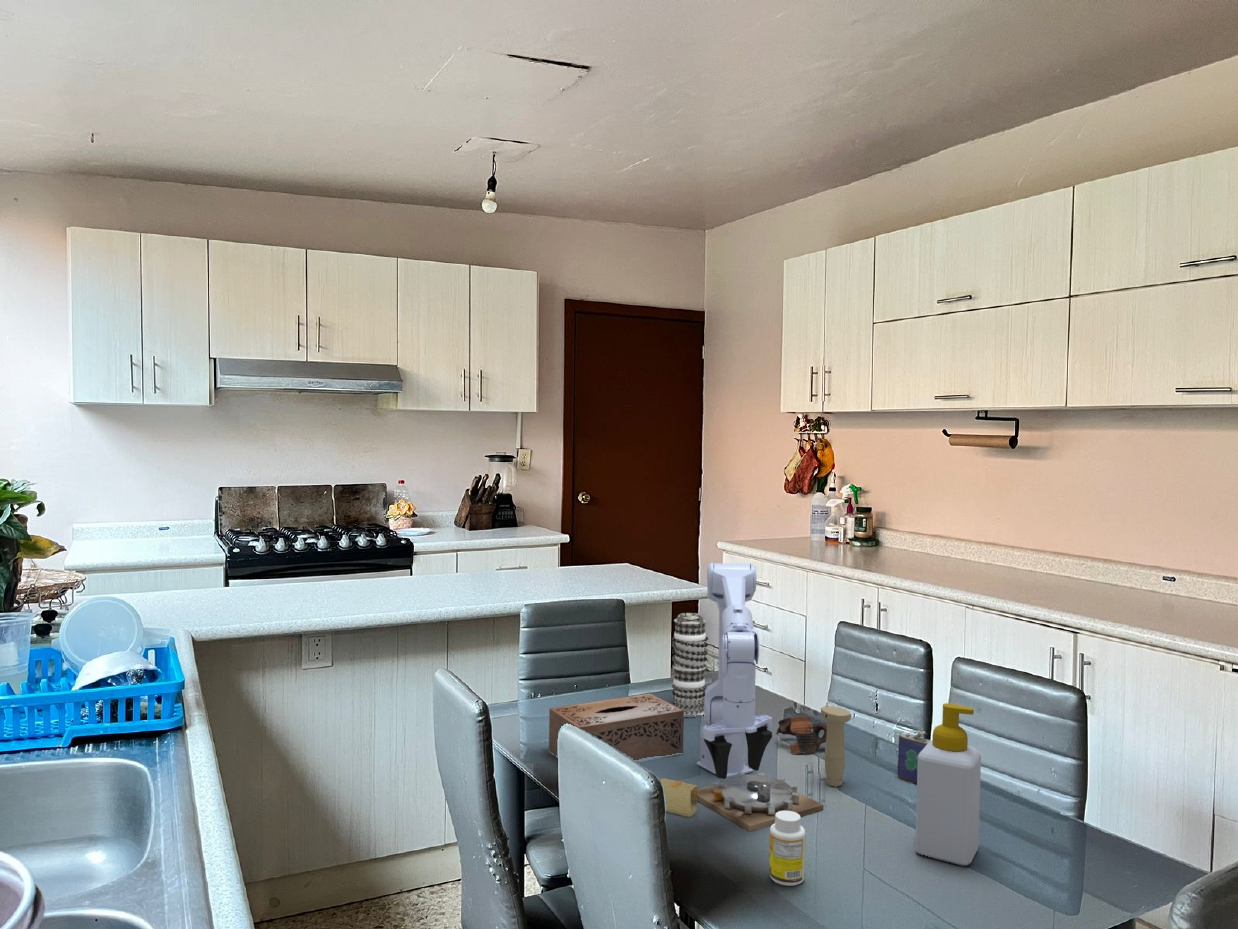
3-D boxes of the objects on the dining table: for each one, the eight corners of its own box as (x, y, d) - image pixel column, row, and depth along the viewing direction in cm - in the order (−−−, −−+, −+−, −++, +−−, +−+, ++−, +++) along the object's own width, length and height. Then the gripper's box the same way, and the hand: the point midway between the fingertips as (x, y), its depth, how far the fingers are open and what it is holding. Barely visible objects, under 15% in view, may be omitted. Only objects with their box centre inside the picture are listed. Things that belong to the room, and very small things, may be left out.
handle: (835, 792, 178) (836, 717, 177) (814, 780, 183) (816, 707, 183) (854, 788, 180) (855, 714, 179) (833, 776, 185) (835, 705, 185)
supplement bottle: (780, 866, 146) (781, 805, 146) (810, 878, 143) (812, 814, 143) (762, 879, 142) (763, 816, 142) (793, 891, 139) (794, 826, 138)
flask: (944, 786, 181) (945, 734, 181) (939, 790, 179) (940, 737, 179) (900, 774, 187) (901, 724, 187) (894, 778, 185) (895, 727, 185)
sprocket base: (689, 796, 174) (689, 790, 174) (759, 778, 184) (759, 772, 184) (749, 831, 159) (750, 825, 159) (823, 810, 169) (823, 803, 169)
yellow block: (655, 809, 168) (656, 782, 168) (662, 804, 171) (663, 777, 171) (690, 817, 165) (690, 789, 165) (696, 811, 168) (697, 784, 167)
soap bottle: (969, 869, 146) (973, 717, 146) (913, 855, 151) (917, 707, 150) (979, 848, 154) (984, 703, 153) (926, 835, 159) (929, 694, 158)
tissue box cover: (578, 775, 185) (578, 727, 184) (548, 753, 197) (549, 708, 197) (683, 755, 197) (683, 710, 197) (649, 735, 210) (650, 693, 210)
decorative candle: (708, 719, 222) (710, 618, 221) (671, 718, 222) (672, 618, 221) (705, 707, 231) (707, 611, 230) (669, 707, 231) (671, 610, 230)
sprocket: (694, 790, 174) (695, 767, 174) (759, 774, 183) (760, 752, 183) (750, 821, 160) (751, 797, 160) (817, 802, 169) (818, 779, 169)
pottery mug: (778, 756, 198) (771, 719, 202) (785, 762, 206) (778, 726, 210) (832, 748, 195) (824, 710, 199) (837, 754, 203) (829, 717, 207)
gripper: (721, 710, 154) (720, 788, 155) (784, 698, 162) (782, 772, 162) (696, 700, 160) (695, 775, 160) (758, 688, 168) (756, 760, 168)
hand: (737, 773), depth 162 cm, fingers open, 7 cm apart
